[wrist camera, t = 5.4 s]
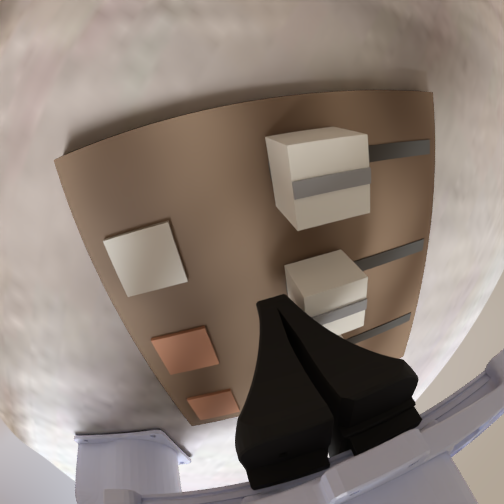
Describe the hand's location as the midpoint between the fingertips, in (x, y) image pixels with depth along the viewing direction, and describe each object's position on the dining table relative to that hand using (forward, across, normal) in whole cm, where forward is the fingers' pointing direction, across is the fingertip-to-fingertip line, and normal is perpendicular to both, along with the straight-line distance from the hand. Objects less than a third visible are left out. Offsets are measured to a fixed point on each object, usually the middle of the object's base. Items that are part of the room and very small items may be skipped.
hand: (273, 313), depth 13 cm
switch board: (+3, -2, +1) cm, 3 cm away
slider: (+2, -3, -6) cm, 7 cm away
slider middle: (+1, -3, 0) cm, 3 cm away
